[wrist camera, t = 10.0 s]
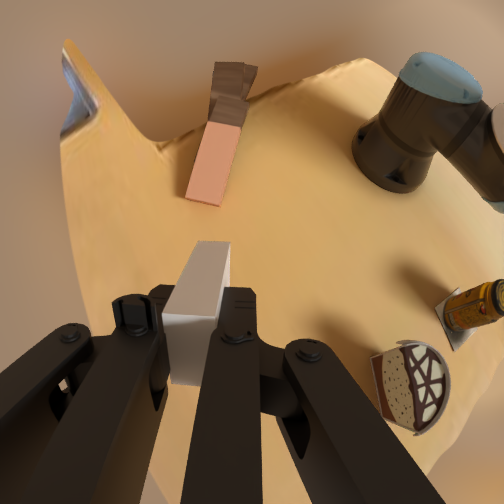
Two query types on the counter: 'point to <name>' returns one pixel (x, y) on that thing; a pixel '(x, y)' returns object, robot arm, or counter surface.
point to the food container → (412, 385)
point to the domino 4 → (248, 79)
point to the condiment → (471, 310)
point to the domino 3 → (213, 163)
